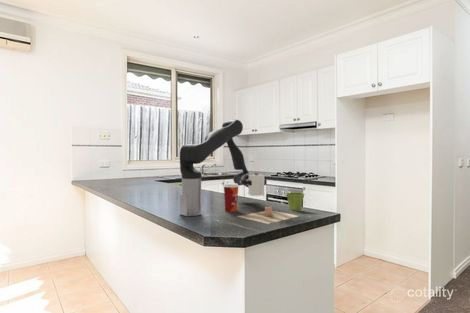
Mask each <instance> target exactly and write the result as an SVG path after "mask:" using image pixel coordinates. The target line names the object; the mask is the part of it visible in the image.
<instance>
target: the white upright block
mask: <svg viewBox="0 0 470 313" xmlns="http://www.w3.org/2000/svg"><path fill="white" fill-rule="evenodd" d="M264 179H265V175H264V174H259V172H254V174H253V175H249V181H252V185H249V188H248V193H247V194H248V195H249V196H251V197H254V196H256V197H257V196H261V197H262V196H263V197H264V196H265V185H264Z"/></svg>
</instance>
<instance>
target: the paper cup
mask: <svg viewBox="0 0 470 313" xmlns="http://www.w3.org/2000/svg"><path fill="white" fill-rule="evenodd" d="M239 188H240V185H238V184H236V183H234V182H227V183H223V189H224V190H223V196H224V211H225V212H226V213H227V212H228V213H229V212H233V213H234V212H237V210H238V197H239V196H238V195H239Z"/></svg>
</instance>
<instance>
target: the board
mask: <svg viewBox="0 0 470 313" xmlns="http://www.w3.org/2000/svg"><path fill="white" fill-rule="evenodd" d="M236 217H238V218H240V219H241V218H242V219H244V220H245V219H246V220H249V221H254V222H257V223H258V222H259V223H263V224H265V225H270V224H273V223H278V222H282V221H285V220H290V219H294V218H298V217H299V215H296V214H292V213H286V212H280V211H277V210H272V217H265V210H262V211H258V212H253V213H252V212H251V213H247V214H243V215H237V216H236Z"/></svg>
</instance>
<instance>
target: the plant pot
mask: <svg viewBox="0 0 470 313" xmlns="http://www.w3.org/2000/svg"><path fill="white" fill-rule="evenodd" d="M285 195H286V197H287V204H288V211H289V210H291V211H295V212H302V208H303V202H304V201H303V200H304V197H305V193H303V192H286V193H285Z"/></svg>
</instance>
